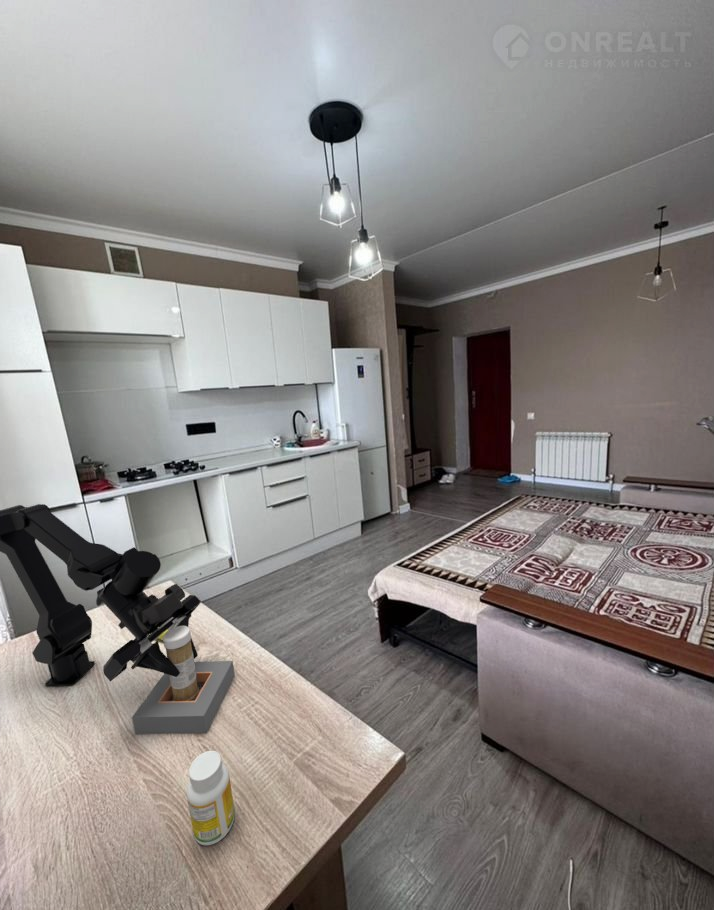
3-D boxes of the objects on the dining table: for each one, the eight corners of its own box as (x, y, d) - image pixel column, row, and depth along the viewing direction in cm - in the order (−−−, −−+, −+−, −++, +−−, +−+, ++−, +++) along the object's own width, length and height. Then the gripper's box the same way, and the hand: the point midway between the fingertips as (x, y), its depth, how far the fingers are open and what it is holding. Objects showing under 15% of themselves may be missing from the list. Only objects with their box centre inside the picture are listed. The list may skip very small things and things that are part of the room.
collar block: (135, 734, 65) (131, 717, 65) (174, 677, 78) (172, 662, 77) (206, 733, 64) (203, 715, 64) (234, 675, 77) (232, 660, 77)
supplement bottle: (206, 857, 47) (194, 796, 45) (186, 827, 50) (175, 769, 49) (243, 818, 51) (233, 760, 49) (222, 793, 54) (213, 738, 53)
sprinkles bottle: (187, 684, 74) (177, 622, 72) (204, 690, 72) (195, 627, 70) (167, 701, 70) (157, 637, 68) (184, 708, 68) (174, 642, 66)
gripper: (102, 611, 59) (168, 683, 58) (187, 558, 77) (239, 612, 75) (76, 647, 63) (138, 715, 62) (163, 588, 80) (212, 641, 79)
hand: (187, 665), depth 69 cm, fingers closed on sprinkles bottle, 4 cm apart
